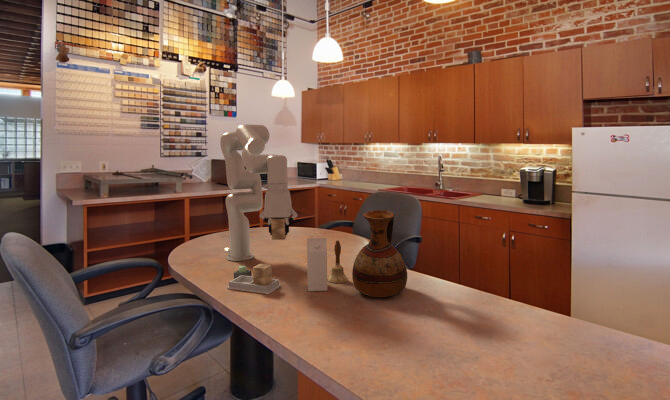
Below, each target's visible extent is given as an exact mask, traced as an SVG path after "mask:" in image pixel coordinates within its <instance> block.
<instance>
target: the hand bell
mask: <svg viewBox="0 0 670 400" xmlns="http://www.w3.org/2000/svg"><path fill="white" fill-rule="evenodd" d="M341 246H342V245H341V243H340V240H336V241H335V244H334V247H333V248H334V255H335V264H334V265H333V266H332V267H331V273H330V275H329V276H327V283H328V282H329V283H330V284H331V283H332V284H344V283H346V282H348V281H349V279H348V277H347V276H346V274H345V272H344V267H343V266H342V265H341V259H340V256H341V251H342V247H341Z"/></svg>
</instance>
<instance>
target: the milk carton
mask: <svg viewBox="0 0 670 400" xmlns="http://www.w3.org/2000/svg"><path fill="white" fill-rule="evenodd" d="M327 248H328V247H327V238H326V237H316V238H314V237H312V238H311V237H310V238H306V261H307V262H306V263H307V291H308V292H317V291H318V292H321V291H323V292H324V291H328V281H327V279H328V249H327Z"/></svg>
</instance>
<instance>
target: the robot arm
mask: <svg viewBox="0 0 670 400" xmlns="http://www.w3.org/2000/svg"><path fill="white" fill-rule="evenodd" d="M269 140H270V131H269V129H268V128H267V126H265V125H263V124H250V123H249V124H241V125H239V126H238V127H237V128H236V130H235V131H229V132H225V133H223V134H222V135H221V137H220V142H219V143H220V149H221V152H222V155H223V158H224V161H225V162H224V163H225V171H226V172H225V173H226V182H227V186H228V188H229V189H230V190H233V191H240V190H249V191H248V192H247V191H246V192H244V191H243V192H232V193H230V194H228V195H227V196H226V197H225V207H226V212H227V218H228V234H229V235H228V236H229V237H228V239H229V247H225V248H224V250H223V253H224V254H227V255H226V259H227V260H228V261H231V262H245V261H249V260H251V259H253V258H254V257H255V255H254V253H252V252H251V239H250V237H251V236H250V234H251V233H250V221H249V219H248V217H247V216H246V215H245V214H244V213H249V212H250V213H251V212H259V211H261V210H262V208H263V204H264V209H263V210H262V211H261V212H260V214H259V218H260V219H262V220H263V221H264V222H265V223H266V224H267V226H268V233H269V236H272V228H271V219H272V218H284V219H285V222H286V223H285V235H287V236H288V233H290V224H291V223H292V221H294V220H295V219H296V218H297V217H298V213H297V212H296V211H295V210H294V208H293V206H292V198H291V192H290V190H289V189H288V181H289V180H288V159H287V156H285V155H283V154H282V155H280V154H262V153H263V152H264V150H265V148H266V144H268V142H269ZM238 151H241V154H240V152H238ZM264 174H265V175H266V174H267V184H264V185H263V187H262V178H261V175H264ZM263 188H264V189H266V190H267V191H265V194H264V198H263ZM291 215H292V216H291Z"/></svg>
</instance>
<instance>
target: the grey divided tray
mask: <svg viewBox="0 0 670 400" xmlns="http://www.w3.org/2000/svg"><path fill="white" fill-rule="evenodd" d="M281 287H282V285H281V284H280V279H278V278H272V283H271V284H269V285H268V286H264V285H256V284H253V275H252V276H244V275H241V276H239V277H237V278H235V279H234V278H233V279H231V280H229V281H228V286H227V287H226V289H229V290H235V291H244V292H250V293H258V294H264V295H265V294H266V295H270V294H272V293H273V292H275V291H276V290H277V289H279V288H281Z"/></svg>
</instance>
